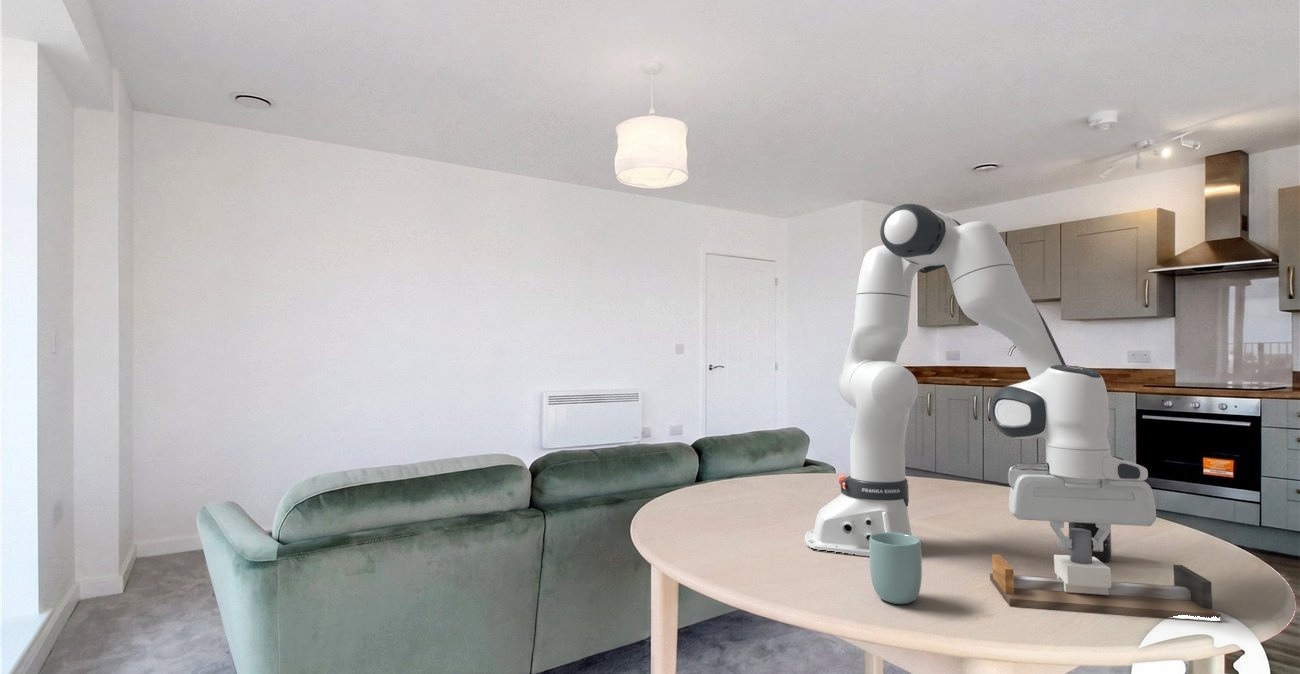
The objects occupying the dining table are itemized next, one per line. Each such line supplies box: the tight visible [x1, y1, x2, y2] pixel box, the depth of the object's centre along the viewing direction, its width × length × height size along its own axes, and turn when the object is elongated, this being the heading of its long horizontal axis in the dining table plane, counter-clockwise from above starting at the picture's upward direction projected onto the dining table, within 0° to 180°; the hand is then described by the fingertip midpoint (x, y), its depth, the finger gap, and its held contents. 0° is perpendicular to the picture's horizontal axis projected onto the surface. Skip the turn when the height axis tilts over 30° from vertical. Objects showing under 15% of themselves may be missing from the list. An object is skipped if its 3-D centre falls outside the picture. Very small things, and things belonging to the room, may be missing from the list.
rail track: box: [989, 553, 1222, 619], centre depth 103 cm, size 28×12×5 cm, turn 75°
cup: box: [869, 532, 923, 605], centre depth 104 cm, size 8×8×10 cm
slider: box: [1053, 528, 1112, 595], centre depth 103 cm, size 6×6×10 cm
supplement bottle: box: [1067, 522, 1113, 563], centre depth 124 cm, size 7×7×12 cm
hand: (1080, 549), depth 103 cm, fingers closed on slider, 3 cm apart
